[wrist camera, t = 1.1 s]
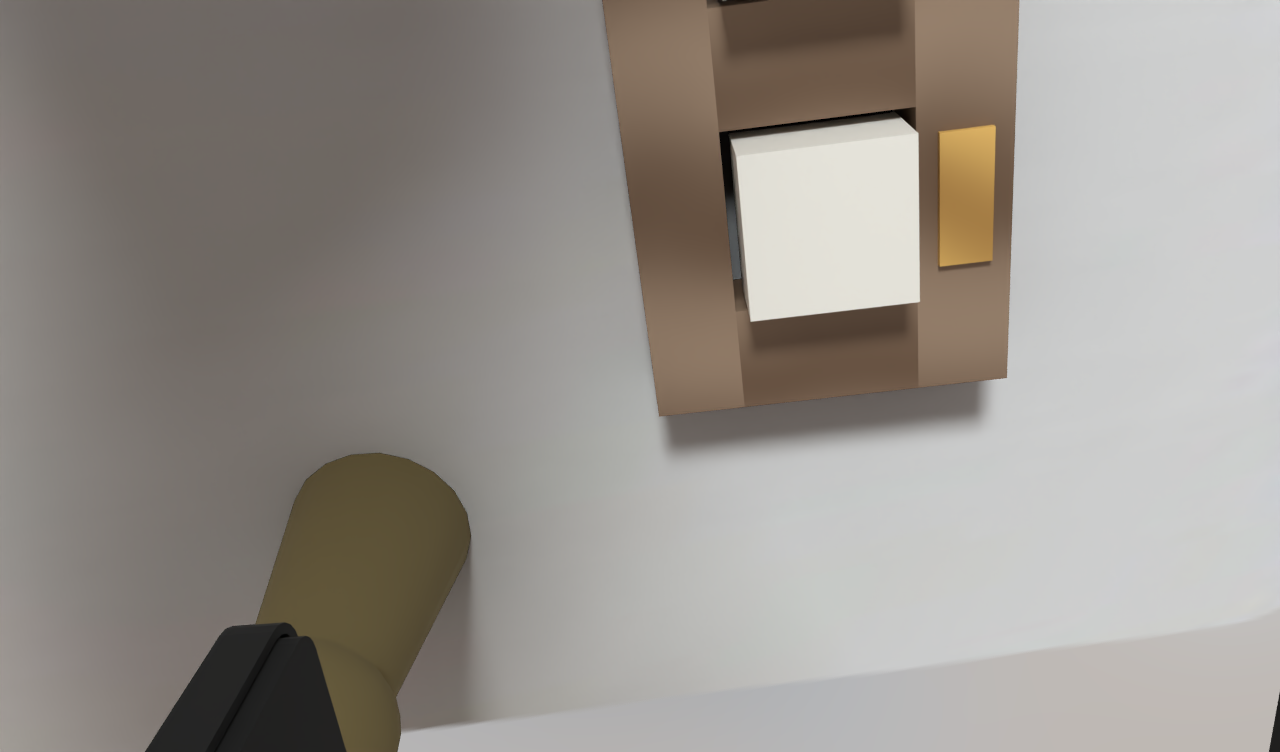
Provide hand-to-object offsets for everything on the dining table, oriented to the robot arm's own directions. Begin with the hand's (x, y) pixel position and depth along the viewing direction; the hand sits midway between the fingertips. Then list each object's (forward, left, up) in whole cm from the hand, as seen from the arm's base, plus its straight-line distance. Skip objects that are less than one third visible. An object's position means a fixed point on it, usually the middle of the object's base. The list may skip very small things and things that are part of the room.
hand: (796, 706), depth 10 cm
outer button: (+1, +3, -20) cm, 20 cm away
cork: (+11, -12, -21) cm, 27 cm away
